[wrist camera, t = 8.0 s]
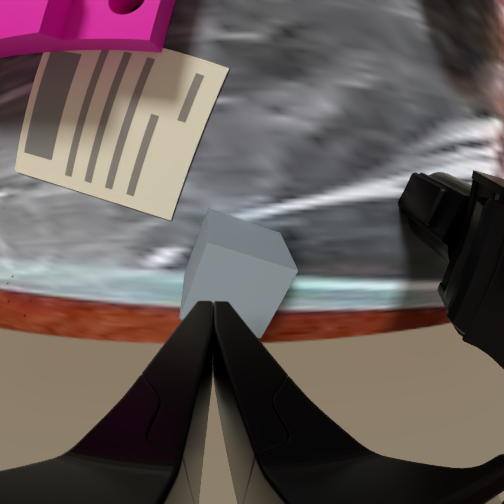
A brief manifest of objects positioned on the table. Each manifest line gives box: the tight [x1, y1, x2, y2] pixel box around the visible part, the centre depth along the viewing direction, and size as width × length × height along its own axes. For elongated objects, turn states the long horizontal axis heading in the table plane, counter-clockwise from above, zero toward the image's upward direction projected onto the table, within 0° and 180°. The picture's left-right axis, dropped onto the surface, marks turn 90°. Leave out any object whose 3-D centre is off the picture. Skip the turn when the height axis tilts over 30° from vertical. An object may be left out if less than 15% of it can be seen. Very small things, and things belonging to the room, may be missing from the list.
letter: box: [15, 48, 229, 221], centre depth 16 cm, size 12×10×1 cm
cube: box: [180, 208, 298, 338], centre depth 19 cm, size 5×5×5 cm
